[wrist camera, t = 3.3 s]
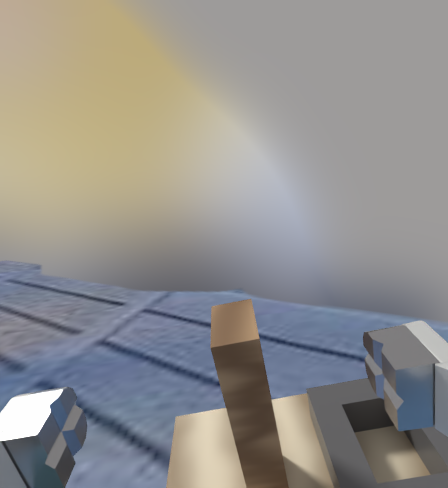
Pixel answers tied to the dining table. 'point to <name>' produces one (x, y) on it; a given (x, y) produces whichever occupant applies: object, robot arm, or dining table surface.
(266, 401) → the walnut slat
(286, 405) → the birch board
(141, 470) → the dining table surface
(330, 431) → the rectangular frame
